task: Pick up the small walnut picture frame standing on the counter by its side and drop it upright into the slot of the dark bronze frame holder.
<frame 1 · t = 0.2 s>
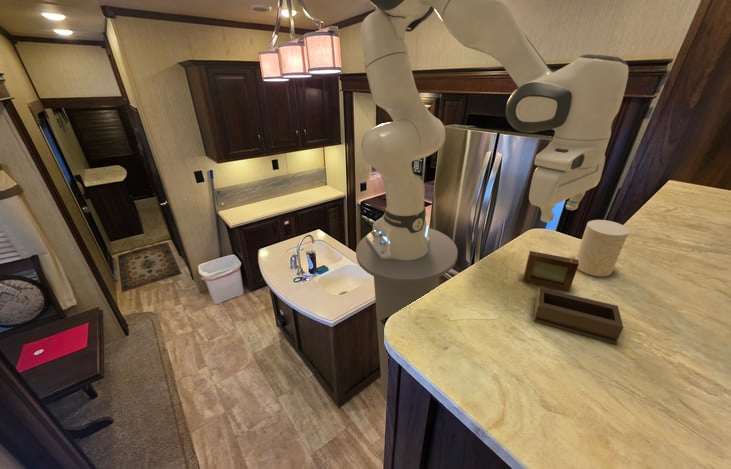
hand: (558, 214, 63), 19 cm above the worktop, tool pointing down, fingers open, 8 cm apart
frame: (545, 283, 72), on the worktop
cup: (592, 267, 77), on the worktop
holder: (572, 320, 61), on the worktop
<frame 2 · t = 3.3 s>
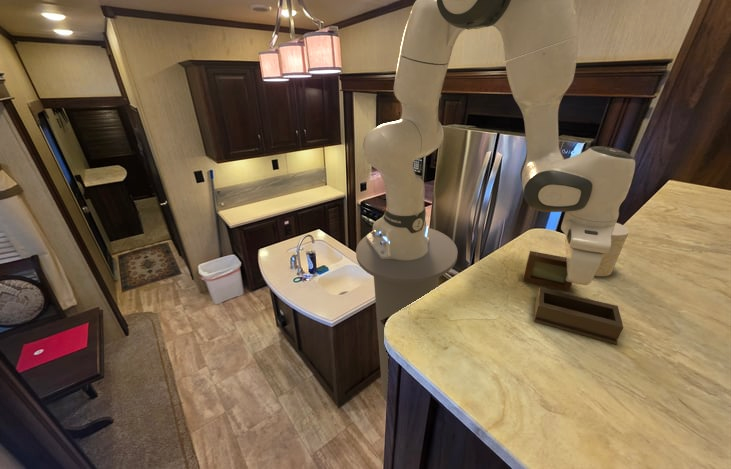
hand: (569, 276, 68), 4 cm above the worktop, tool pointing down, fingers closed on frame, 2 cm apart
frame: (545, 283, 72), on the worktop, touching gripper
everything else where it was.
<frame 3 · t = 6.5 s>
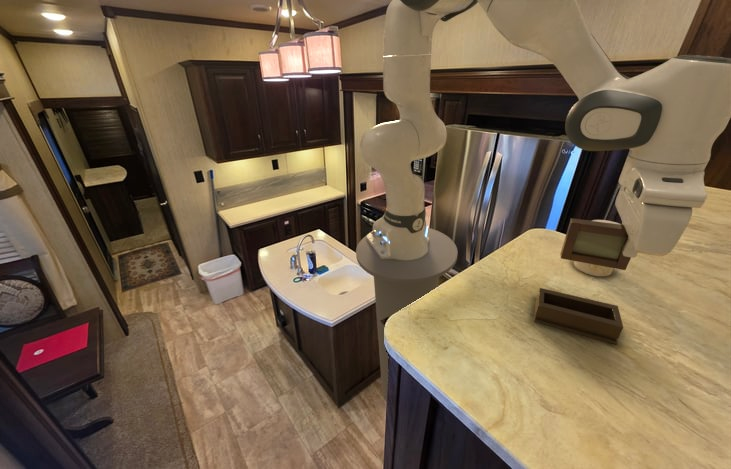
hand: (625, 250, 52), 18 cm above the worktop, tool pointing down, fingers closed on frame
frame: (591, 261, 55), point 15 cm above the worktop, touching gripper
everything else where it was.
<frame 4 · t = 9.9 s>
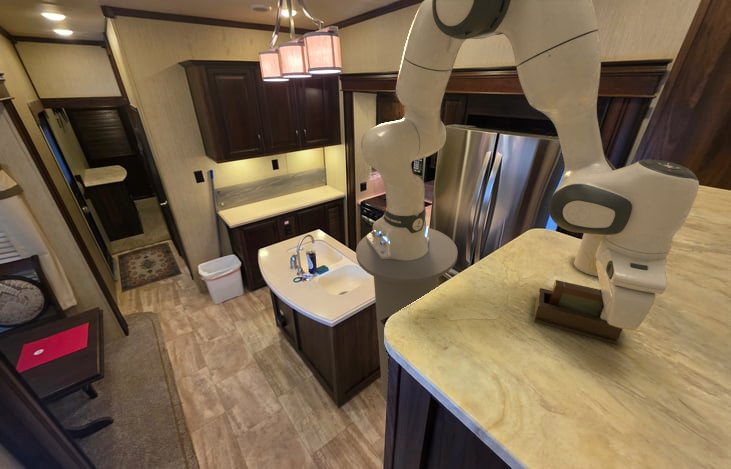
hand: (603, 312, 57), 4 cm above the worktop, tool pointing down, fingers closed, pressing on frame, holder
frame: (573, 318, 61), point 1 cm above the worktop, touching gripper, holder
everything else where it was.
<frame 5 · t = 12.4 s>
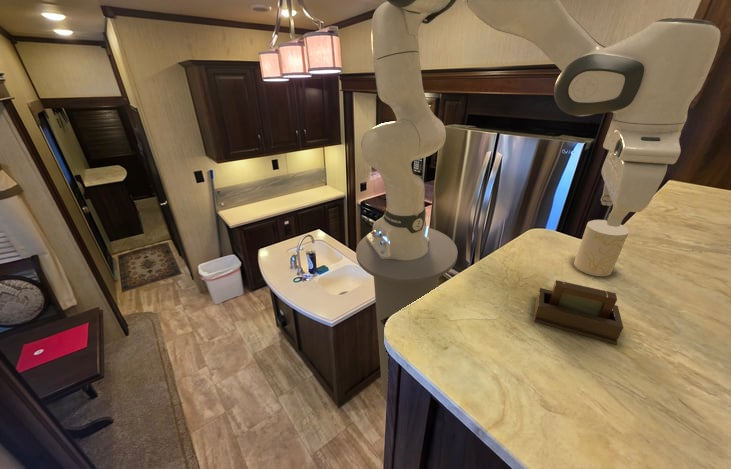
hand: (608, 213, 54), 23 cm above the worktop, tool pointing down, fingers open, 8 cm apart
frame: (573, 318, 61), point 1 cm above the worktop, touching holder
everything else where it was.
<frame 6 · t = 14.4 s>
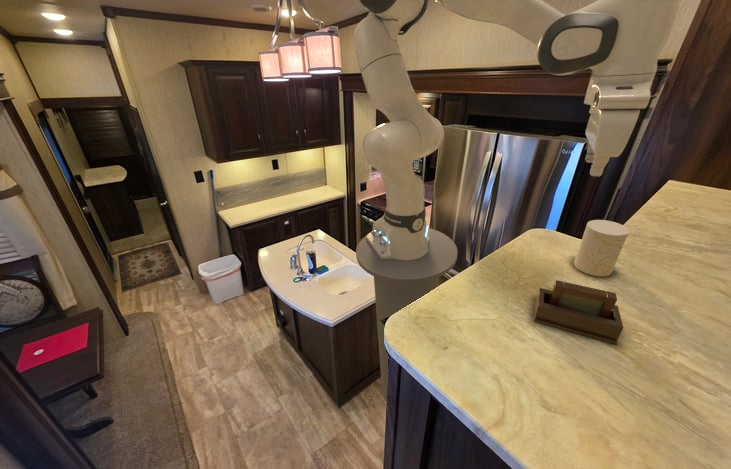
hand: (592, 168, 58), 29 cm above the worktop, tool pointing down, fingers open, 8 cm apart
nothing on the worktop moved.
at the end: frame 0.1 cm off-centre on the holder, point 0.6 cm above the holder's base; frame tilted 0°; the gripper is holding nothing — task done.
